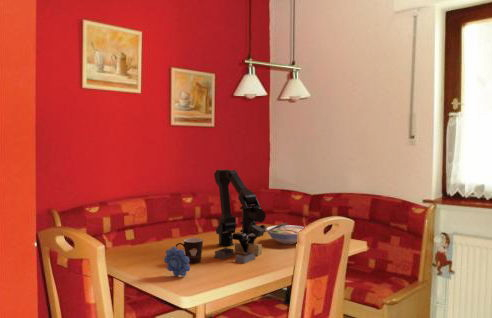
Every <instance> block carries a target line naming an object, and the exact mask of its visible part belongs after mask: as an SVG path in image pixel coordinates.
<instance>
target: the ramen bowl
mask: <svg viewBox="0 0 492 318" xmlns="http://www.w3.org/2000/svg"><path fill="white" fill-rule="evenodd" d="M304 227H305V226H301V225H294V224H293V225H290V224H289V222H283V223H280V224H278V225H272V226H268V227H266V232H267V233H268V235H269V236H270V238H271V239H272V240H274V241H276V242H279V243H280V244H282V245H293V244H295V243H298V242H297V234H298V232H299V231H300V230H302V229H303V228H304ZM266 232H265V233H266Z"/></svg>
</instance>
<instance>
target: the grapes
mask: <svg viewBox="0 0 492 318" xmlns="http://www.w3.org/2000/svg"><path fill="white" fill-rule="evenodd" d="M184 255H185V250H184V249H178V247H177V248H176V246H172V247H171V248H170V249H169V248H167V249H166V250H165V255H164V258H163V261H164V263H166V264H167V265H166V269H167V271H169V272H172V274H173V275H174V276H175V277H179V276H181V277H186V275H187V272H190V271H191V267H190V264H188V263H189V261H190V260H189V258H188V257H187V256H184Z"/></svg>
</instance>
